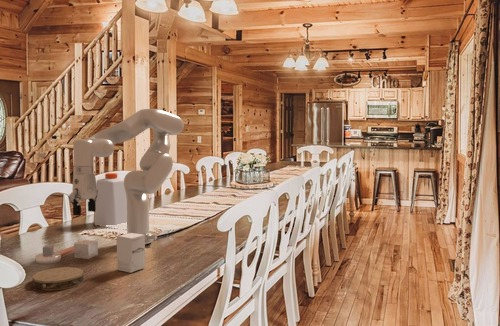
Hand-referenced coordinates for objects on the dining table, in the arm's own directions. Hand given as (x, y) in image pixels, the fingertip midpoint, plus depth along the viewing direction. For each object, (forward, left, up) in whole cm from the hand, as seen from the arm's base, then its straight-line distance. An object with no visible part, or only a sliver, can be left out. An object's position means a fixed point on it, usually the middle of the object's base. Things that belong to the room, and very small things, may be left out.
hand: (84, 213), depth 195 cm
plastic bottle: (+23, -56, -18) cm, 63 cm away
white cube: (0, 0, -18) cm, 18 cm away
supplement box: (-26, +10, -18) cm, 33 cm away
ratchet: (+10, +10, -18) cm, 23 cm away
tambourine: (-10, +30, -18) cm, 36 cm away
